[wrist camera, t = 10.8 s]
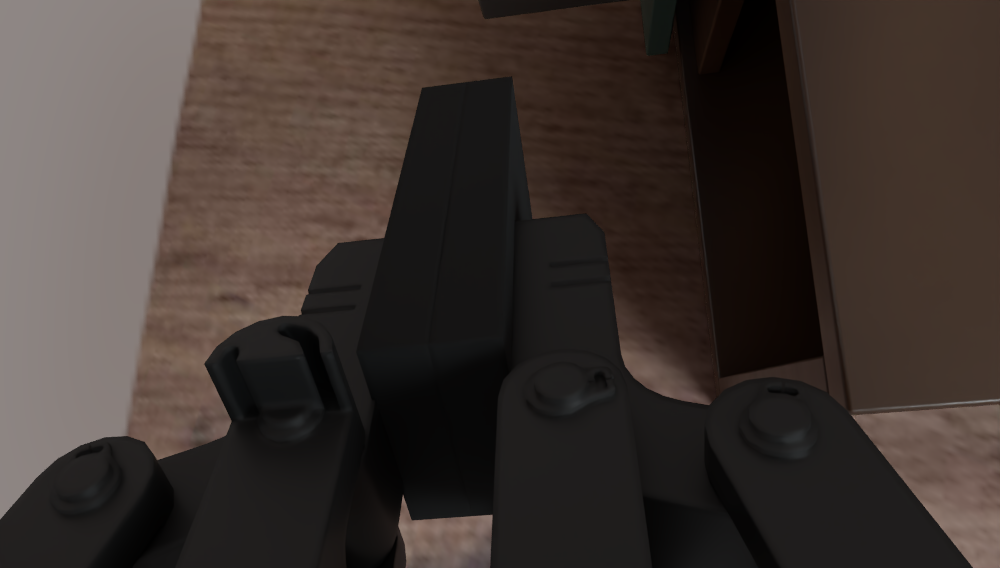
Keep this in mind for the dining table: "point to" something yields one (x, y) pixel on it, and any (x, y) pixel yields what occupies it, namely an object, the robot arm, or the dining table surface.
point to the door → (654, 4)
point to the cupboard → (848, 194)
